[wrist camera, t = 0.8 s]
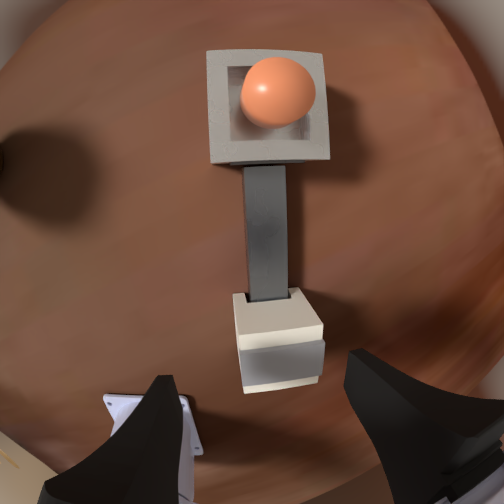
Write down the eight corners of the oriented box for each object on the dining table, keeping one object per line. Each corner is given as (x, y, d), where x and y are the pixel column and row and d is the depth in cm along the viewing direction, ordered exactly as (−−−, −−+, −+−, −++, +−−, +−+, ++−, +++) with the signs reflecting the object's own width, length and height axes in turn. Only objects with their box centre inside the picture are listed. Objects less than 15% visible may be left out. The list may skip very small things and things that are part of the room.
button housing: (306, 163, 18) (330, 162, 14) (212, 167, 17) (211, 166, 13) (301, 74, 16) (322, 53, 12) (208, 74, 15) (206, 51, 11)
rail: (294, 356, 22) (299, 367, 20) (240, 363, 21) (241, 375, 20) (294, 165, 18) (301, 165, 16) (225, 168, 17) (226, 168, 16)
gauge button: (302, 129, 13) (318, 123, 11) (241, 130, 13) (245, 122, 10) (298, 74, 12) (312, 59, 10) (238, 72, 12) (242, 56, 10)
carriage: (297, 338, 21) (320, 386, 16) (236, 346, 21) (244, 398, 15) (299, 287, 20) (326, 327, 15) (231, 293, 19) (238, 339, 14)
